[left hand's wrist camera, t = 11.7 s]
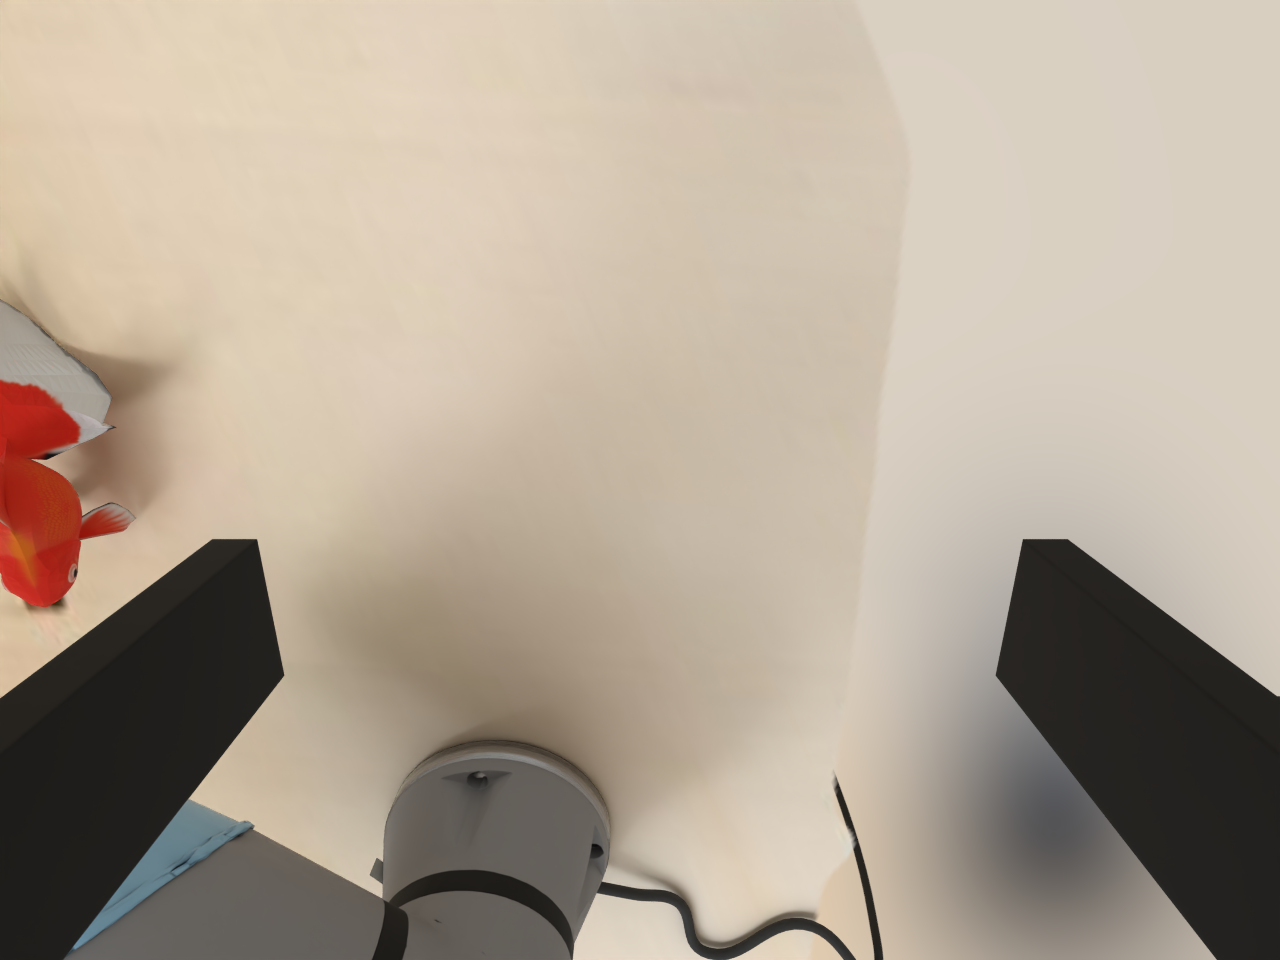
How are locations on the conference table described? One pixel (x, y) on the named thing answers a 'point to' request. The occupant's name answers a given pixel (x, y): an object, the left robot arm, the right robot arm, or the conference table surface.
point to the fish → (40, 429)
